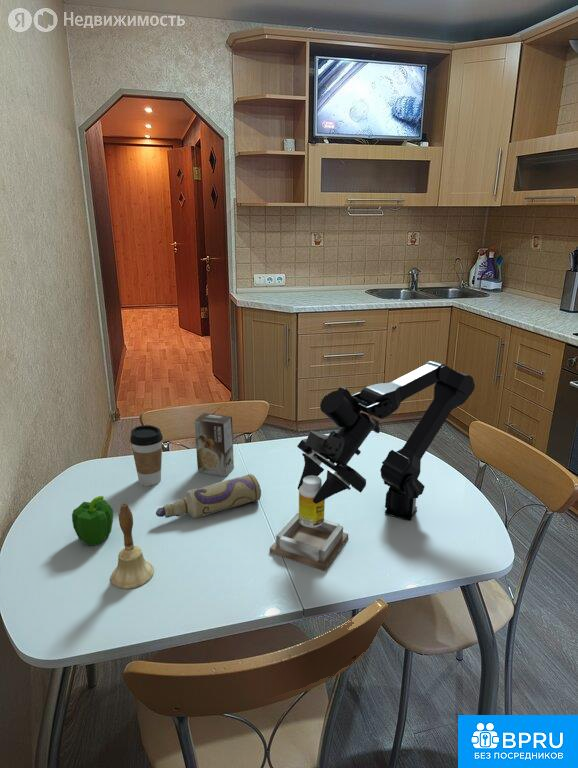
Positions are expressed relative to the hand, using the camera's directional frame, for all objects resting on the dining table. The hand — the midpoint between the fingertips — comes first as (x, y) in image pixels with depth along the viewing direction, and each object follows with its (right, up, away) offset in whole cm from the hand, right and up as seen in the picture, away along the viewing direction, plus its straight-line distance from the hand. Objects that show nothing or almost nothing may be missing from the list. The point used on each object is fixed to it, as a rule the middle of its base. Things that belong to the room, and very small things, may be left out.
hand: (306, 496), depth 105 cm
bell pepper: (-47, -11, +6) cm, 48 cm away
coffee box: (-25, -1, +38) cm, 45 cm away
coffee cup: (-42, -3, +31) cm, 52 cm away
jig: (+1, -12, +4) cm, 12 cm away
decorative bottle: (-23, -7, +18) cm, 30 cm away
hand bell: (-35, -15, -6) cm, 38 cm away
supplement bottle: (+1, -6, +3) cm, 7 cm away
